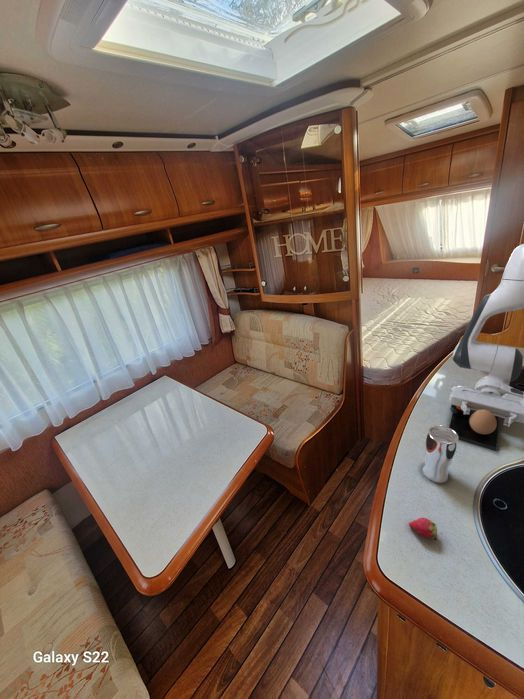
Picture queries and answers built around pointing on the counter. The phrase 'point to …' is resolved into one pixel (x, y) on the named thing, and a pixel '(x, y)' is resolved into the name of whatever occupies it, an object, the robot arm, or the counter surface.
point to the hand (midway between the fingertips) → (485, 418)
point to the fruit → (424, 528)
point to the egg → (483, 421)
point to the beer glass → (439, 452)
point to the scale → (471, 430)
